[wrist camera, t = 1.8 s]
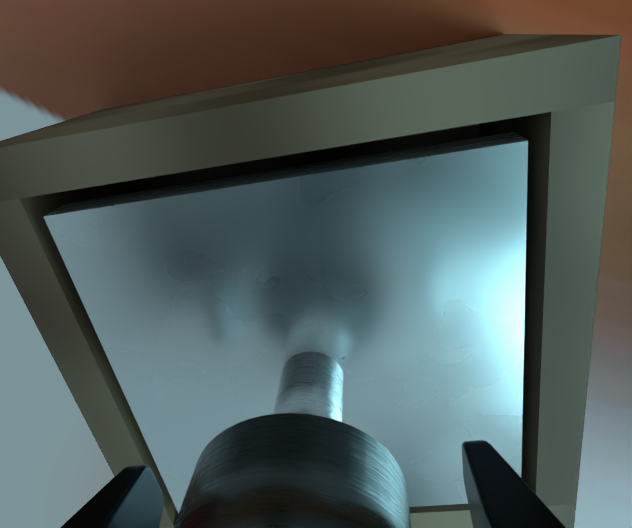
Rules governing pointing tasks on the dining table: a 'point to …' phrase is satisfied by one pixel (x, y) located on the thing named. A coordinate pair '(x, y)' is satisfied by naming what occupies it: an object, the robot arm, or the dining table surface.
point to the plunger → (315, 329)
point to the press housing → (334, 144)
